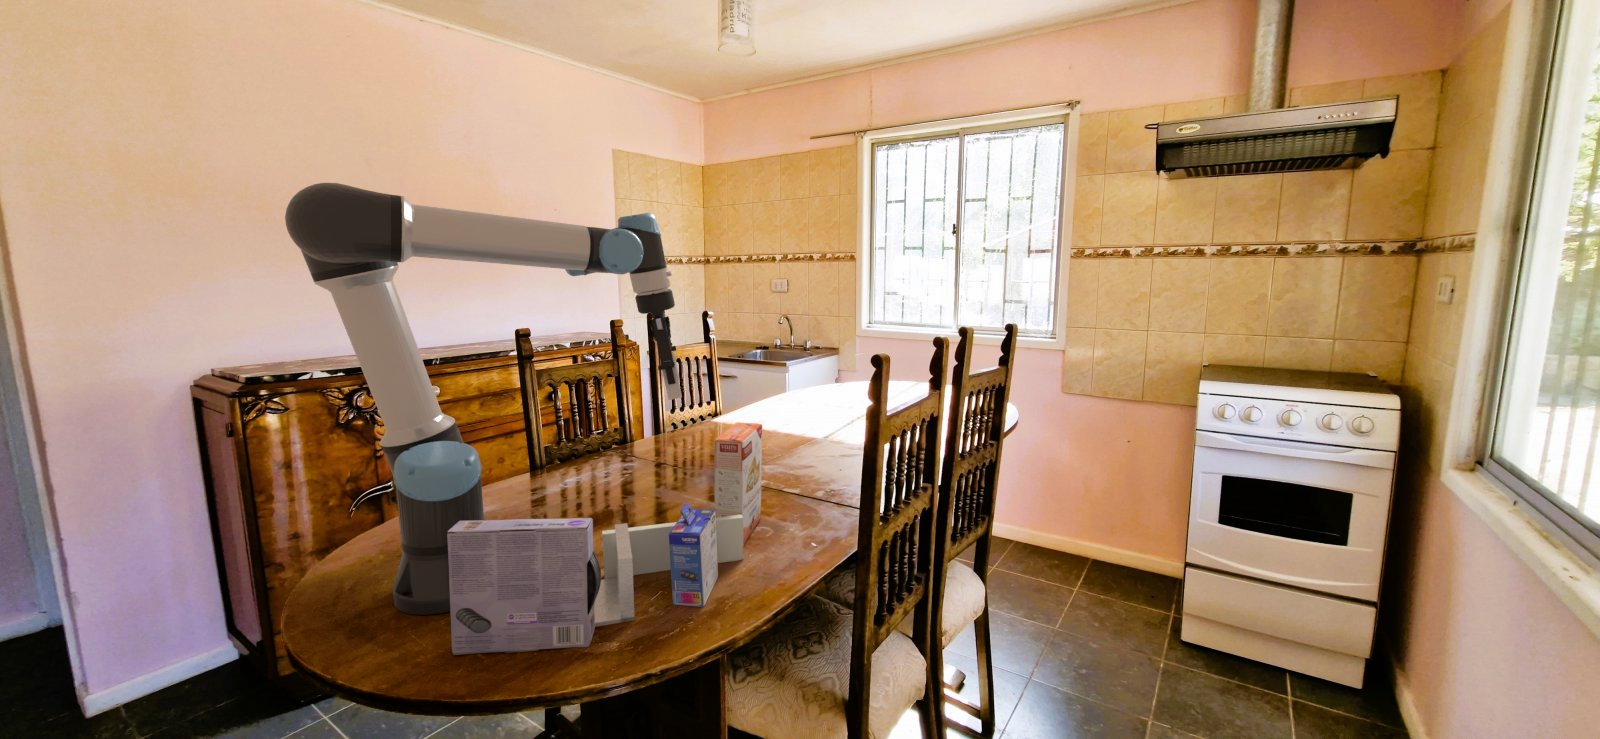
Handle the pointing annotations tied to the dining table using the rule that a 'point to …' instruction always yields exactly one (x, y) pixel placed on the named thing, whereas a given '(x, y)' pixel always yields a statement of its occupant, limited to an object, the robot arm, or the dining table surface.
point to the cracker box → (739, 474)
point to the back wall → (655, 550)
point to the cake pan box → (522, 584)
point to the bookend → (617, 585)
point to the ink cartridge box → (693, 556)
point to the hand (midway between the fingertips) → (674, 389)
